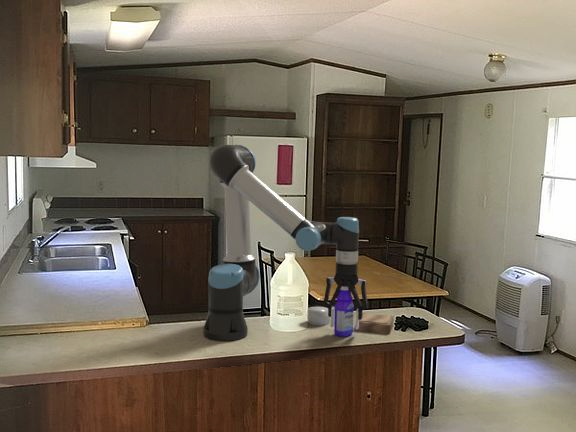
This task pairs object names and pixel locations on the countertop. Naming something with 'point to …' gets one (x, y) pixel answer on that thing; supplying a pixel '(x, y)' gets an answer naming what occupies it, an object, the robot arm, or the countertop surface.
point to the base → (376, 323)
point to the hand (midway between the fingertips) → (344, 327)
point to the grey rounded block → (318, 316)
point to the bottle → (344, 313)
